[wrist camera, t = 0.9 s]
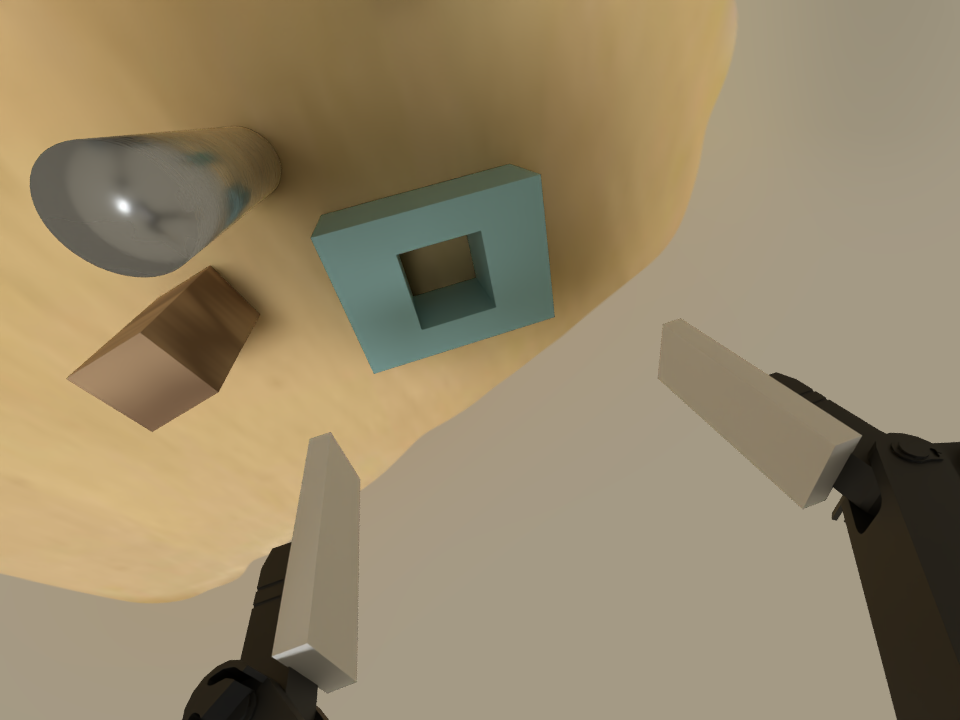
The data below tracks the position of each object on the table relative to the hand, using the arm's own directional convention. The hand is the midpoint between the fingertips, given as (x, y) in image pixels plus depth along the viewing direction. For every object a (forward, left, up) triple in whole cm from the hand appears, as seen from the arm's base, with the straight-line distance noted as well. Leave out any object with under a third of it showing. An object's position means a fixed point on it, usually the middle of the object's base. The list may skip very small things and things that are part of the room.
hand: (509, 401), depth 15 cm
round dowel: (-9, -10, -19) cm, 23 cm away
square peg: (-1, -17, -19) cm, 25 cm away
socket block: (0, 0, -19) cm, 19 cm away
